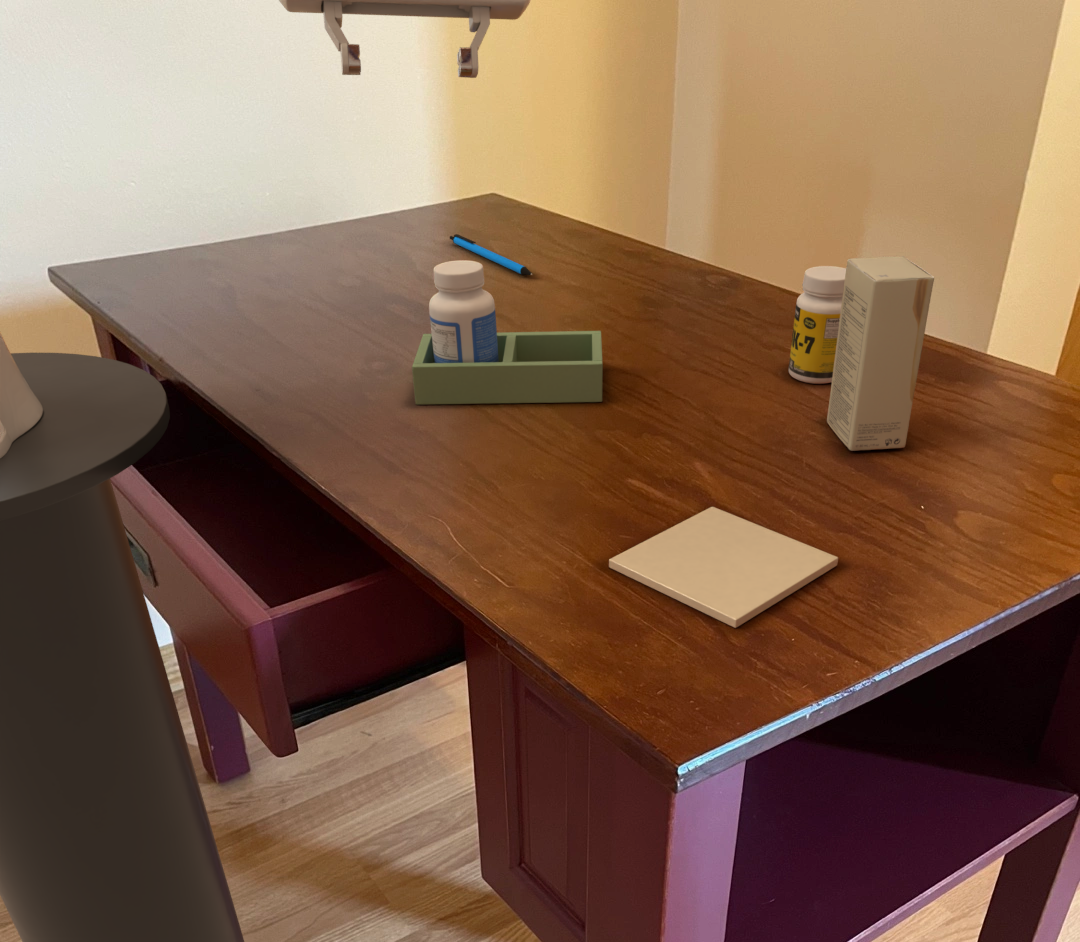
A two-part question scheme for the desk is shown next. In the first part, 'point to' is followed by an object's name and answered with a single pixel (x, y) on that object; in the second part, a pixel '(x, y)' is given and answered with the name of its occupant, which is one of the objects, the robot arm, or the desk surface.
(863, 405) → the cosmetic box
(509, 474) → the desk surface
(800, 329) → the supplement bottle
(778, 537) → the tile
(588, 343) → the bottle rack
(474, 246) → the pen
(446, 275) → the pill bottle
